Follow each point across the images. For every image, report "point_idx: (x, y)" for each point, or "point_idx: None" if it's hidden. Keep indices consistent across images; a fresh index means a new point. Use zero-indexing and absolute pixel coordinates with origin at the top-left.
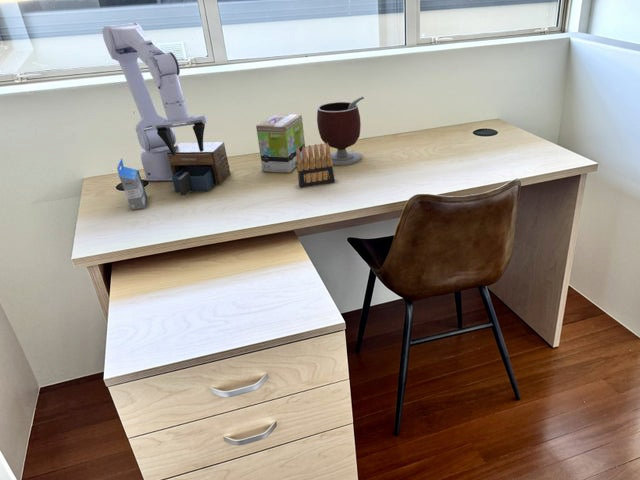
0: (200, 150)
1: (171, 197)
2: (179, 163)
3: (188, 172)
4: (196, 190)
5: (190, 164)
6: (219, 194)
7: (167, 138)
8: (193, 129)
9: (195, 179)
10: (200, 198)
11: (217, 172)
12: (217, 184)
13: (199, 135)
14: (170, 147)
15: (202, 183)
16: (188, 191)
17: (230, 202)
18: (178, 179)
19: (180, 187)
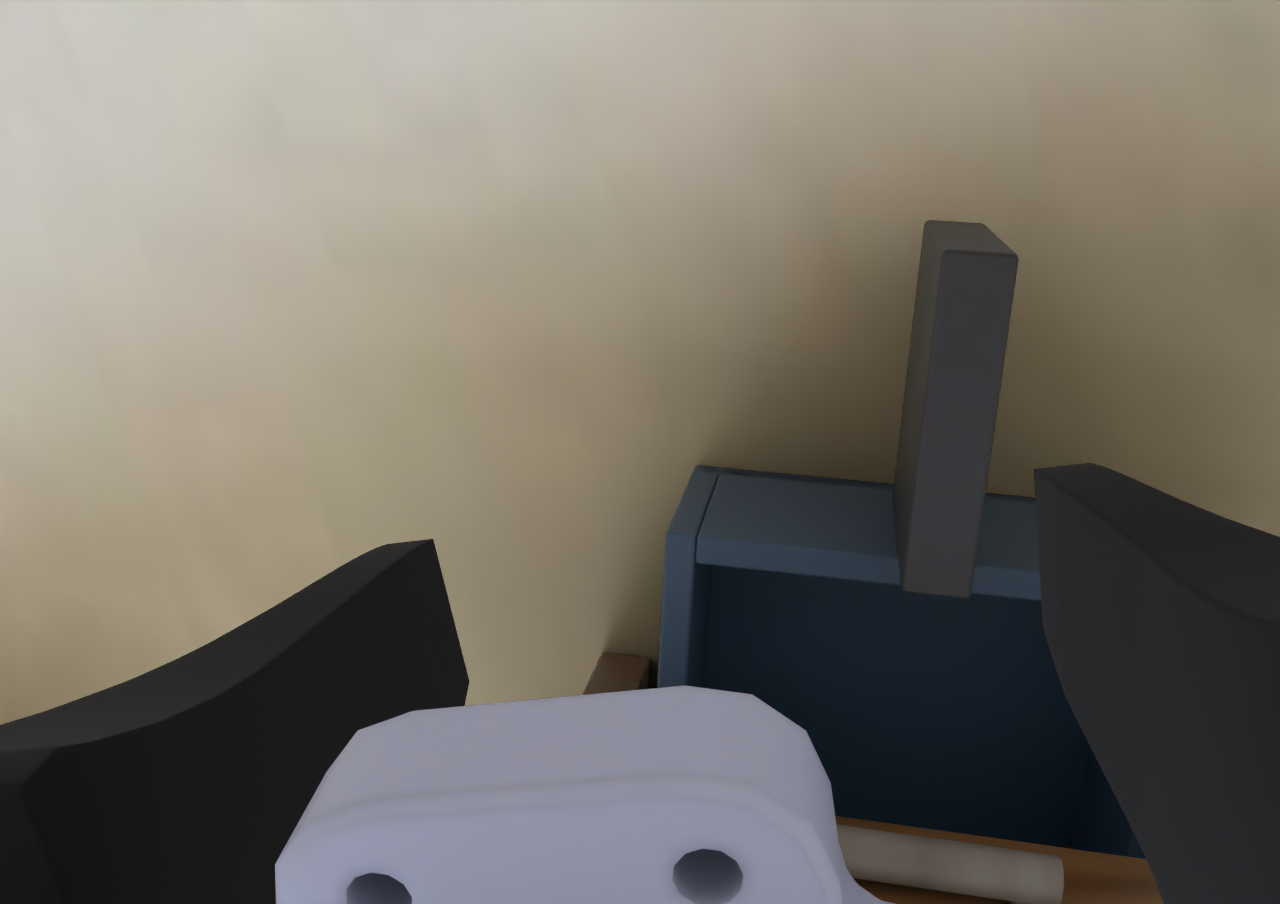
0: (403, 542)
1: (1158, 305)
2: (1127, 872)
3: (903, 579)
4: (846, 484)
5: (927, 830)
6: (512, 345)
7: (1231, 600)
8: (86, 737)
9: (818, 534)
10: (722, 228)
11: None
12: (630, 660)
13: (130, 690)
14: (1133, 512)
15: (730, 502)
16: (909, 356)
17: (282, 53)
18: (985, 250)
19: (972, 235)
